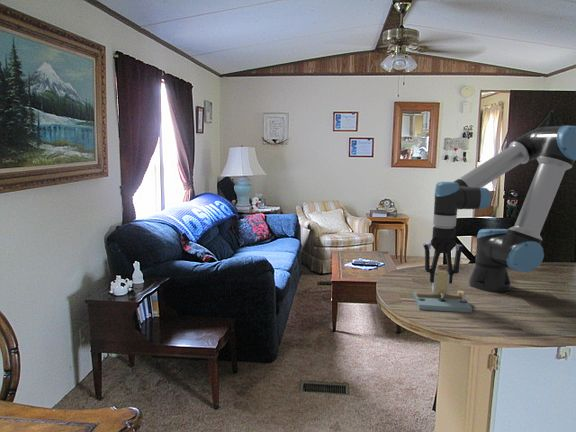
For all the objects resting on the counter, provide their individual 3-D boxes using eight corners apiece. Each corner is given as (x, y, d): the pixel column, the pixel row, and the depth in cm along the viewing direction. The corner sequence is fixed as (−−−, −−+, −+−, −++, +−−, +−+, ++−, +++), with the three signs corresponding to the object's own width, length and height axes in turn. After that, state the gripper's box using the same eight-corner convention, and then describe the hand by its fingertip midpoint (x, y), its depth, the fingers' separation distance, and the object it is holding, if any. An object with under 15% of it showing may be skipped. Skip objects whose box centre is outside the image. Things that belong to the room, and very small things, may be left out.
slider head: (444, 294, 163) (445, 270, 162) (447, 300, 157) (449, 275, 156) (433, 294, 164) (435, 270, 163) (437, 299, 158) (438, 274, 156)
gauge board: (461, 298, 166) (462, 287, 165) (471, 312, 152) (472, 300, 151) (413, 296, 168) (413, 285, 167) (419, 309, 154) (419, 297, 153)
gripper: (466, 225, 161) (462, 289, 164) (417, 223, 163) (414, 287, 166) (472, 229, 153) (467, 296, 157) (421, 227, 155) (417, 293, 159)
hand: (440, 291), depth 162 cm, fingers closed on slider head, 4 cm apart
